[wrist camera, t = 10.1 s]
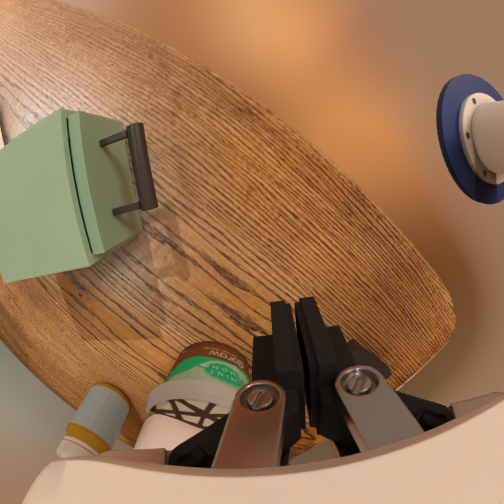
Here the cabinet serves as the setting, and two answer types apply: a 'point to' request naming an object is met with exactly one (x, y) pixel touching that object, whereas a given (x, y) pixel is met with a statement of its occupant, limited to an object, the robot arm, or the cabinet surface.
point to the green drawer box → (41, 205)
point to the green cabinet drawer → (109, 178)
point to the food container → (201, 384)
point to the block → (367, 359)
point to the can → (164, 433)
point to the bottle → (95, 422)
